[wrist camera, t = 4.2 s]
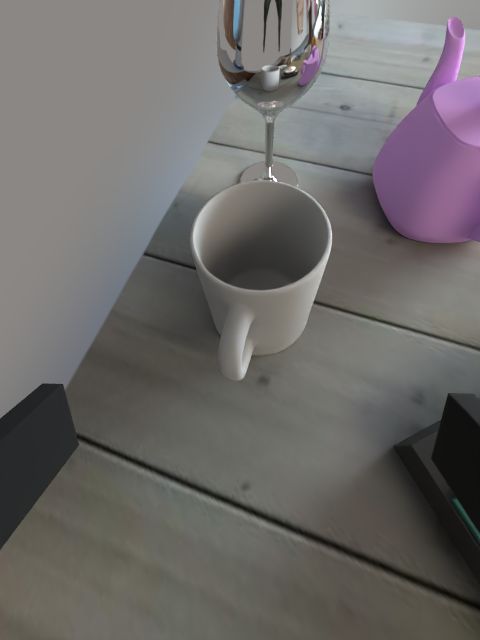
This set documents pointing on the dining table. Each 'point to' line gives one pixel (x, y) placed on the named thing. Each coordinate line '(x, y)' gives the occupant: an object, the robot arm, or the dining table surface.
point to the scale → (440, 494)
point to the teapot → (436, 156)
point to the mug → (259, 267)
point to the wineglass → (272, 62)
